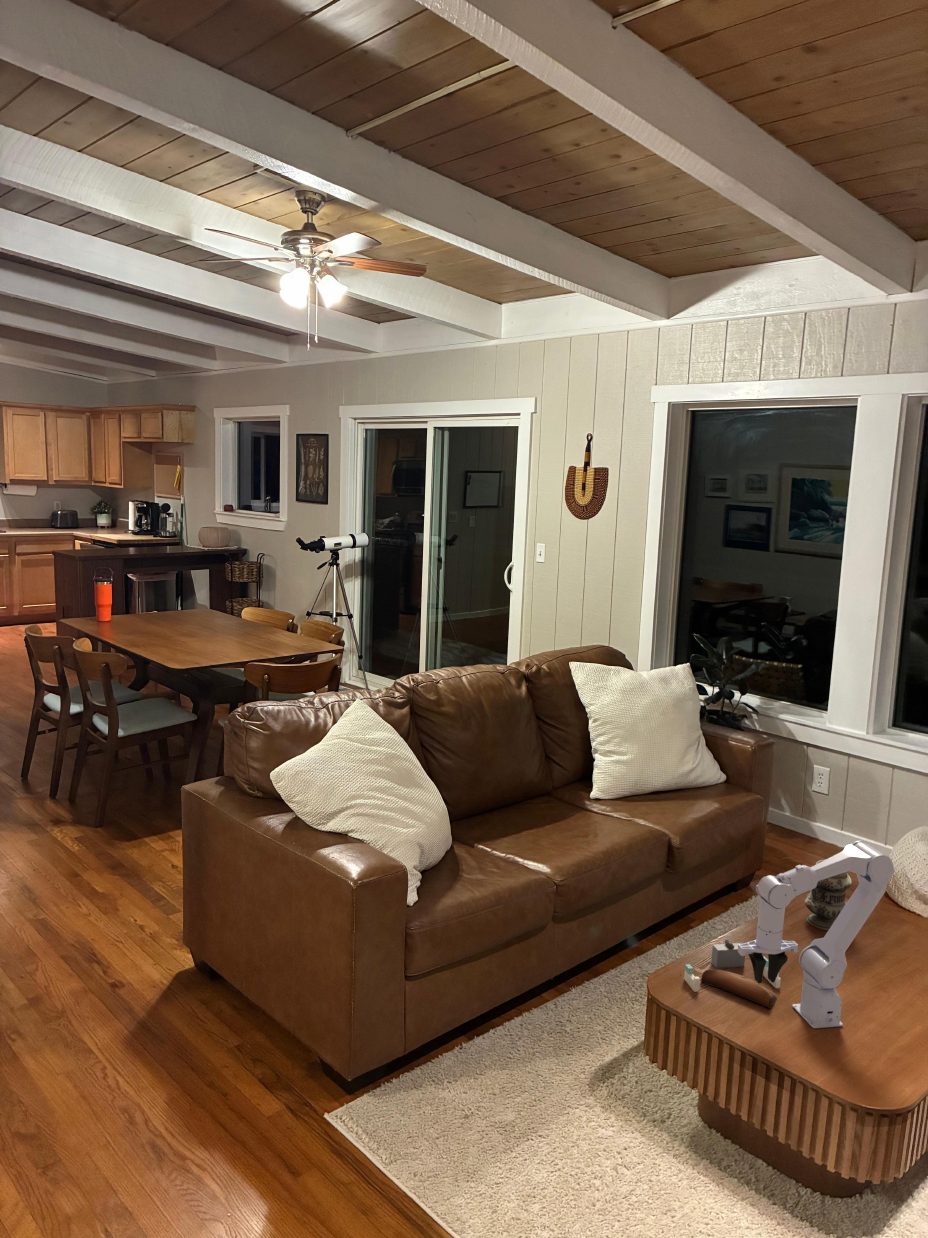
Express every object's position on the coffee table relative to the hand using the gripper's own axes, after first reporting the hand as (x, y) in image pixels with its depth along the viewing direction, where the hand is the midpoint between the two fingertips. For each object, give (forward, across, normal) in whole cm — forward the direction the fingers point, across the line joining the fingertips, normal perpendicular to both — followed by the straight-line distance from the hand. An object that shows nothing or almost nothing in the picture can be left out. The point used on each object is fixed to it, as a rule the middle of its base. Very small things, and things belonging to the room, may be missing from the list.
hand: (764, 980), depth 216 cm
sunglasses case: (+11, -1, -13) cm, 17 cm away
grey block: (+10, -4, -24) cm, 27 cm away
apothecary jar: (+10, -44, -43) cm, 63 cm away
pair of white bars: (+10, 0, -17) cm, 20 cm away
